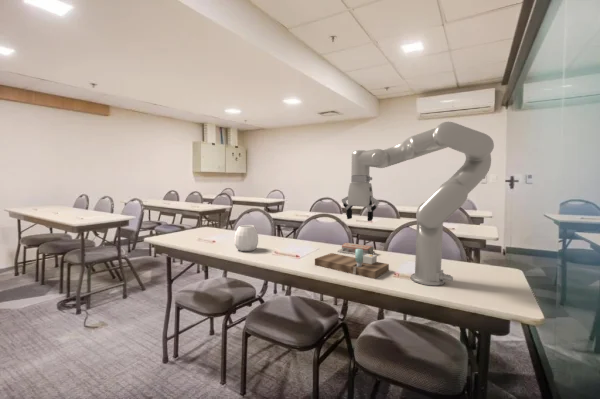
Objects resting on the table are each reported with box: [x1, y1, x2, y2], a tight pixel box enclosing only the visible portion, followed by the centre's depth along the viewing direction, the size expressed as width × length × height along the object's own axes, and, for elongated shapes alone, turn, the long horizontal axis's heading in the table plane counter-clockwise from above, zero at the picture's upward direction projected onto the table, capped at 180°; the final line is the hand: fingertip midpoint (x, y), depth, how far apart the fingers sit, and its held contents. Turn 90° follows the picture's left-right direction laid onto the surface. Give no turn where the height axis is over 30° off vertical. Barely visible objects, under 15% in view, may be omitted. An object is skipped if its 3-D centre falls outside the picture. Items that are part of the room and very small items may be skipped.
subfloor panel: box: [314, 252, 390, 280], centre depth 137 cm, size 30×15×3 cm, turn 51°
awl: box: [354, 249, 363, 267], centre depth 130 cm, size 3×3×10 cm
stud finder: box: [362, 253, 378, 264], centre depth 135 cm, size 6×5×3 cm
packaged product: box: [337, 242, 376, 256], centre depth 165 cm, size 18×5×10 cm
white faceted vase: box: [234, 224, 259, 252], centre depth 170 cm, size 13×13×14 cm
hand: (359, 219), depth 130 cm, fingers open, 9 cm apart
